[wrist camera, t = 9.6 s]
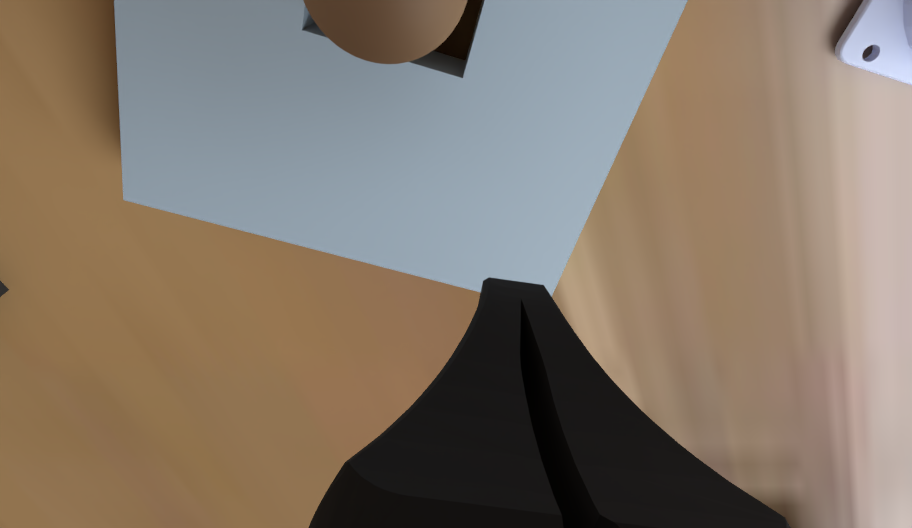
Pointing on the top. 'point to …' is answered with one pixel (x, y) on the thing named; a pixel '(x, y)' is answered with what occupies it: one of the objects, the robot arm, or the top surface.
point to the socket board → (386, 129)
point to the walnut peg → (386, 26)
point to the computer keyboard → (3, 289)
